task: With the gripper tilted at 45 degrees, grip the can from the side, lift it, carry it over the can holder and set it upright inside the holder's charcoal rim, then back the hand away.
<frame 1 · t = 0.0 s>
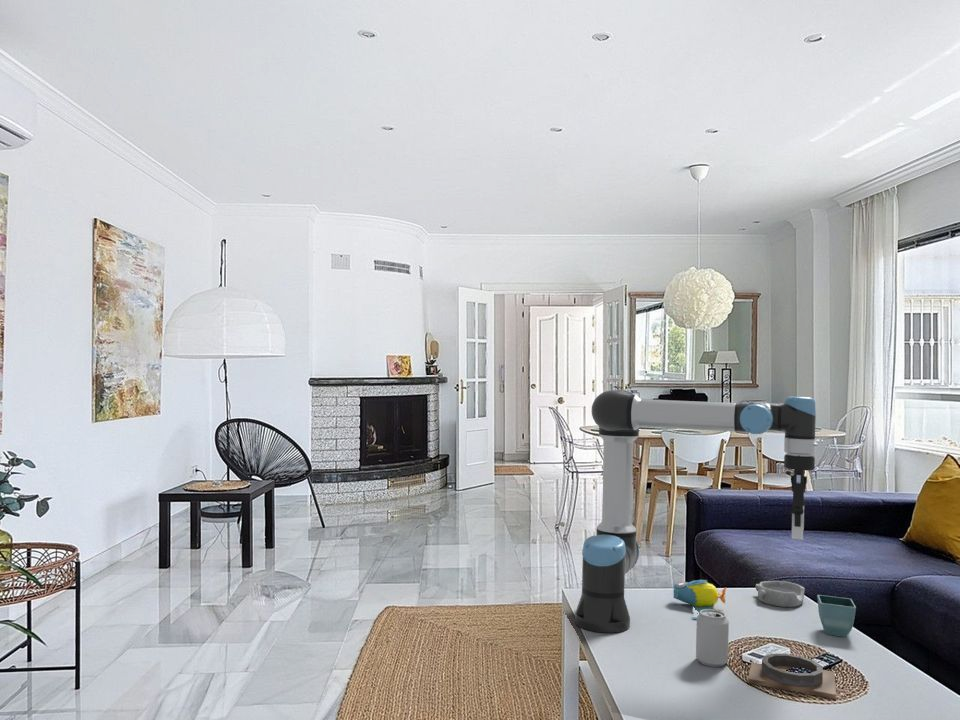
hand: (797, 534, 198), 28 cm above the table, tool pointing down, fingers open, 13 cm apart
blue yellow plastic figure: (699, 609, 224), on the table
can holder: (791, 679, 171), on the table
can: (711, 662, 180), on the table
dish: (779, 602, 232), on the table
flower pot: (835, 634, 203), on the table
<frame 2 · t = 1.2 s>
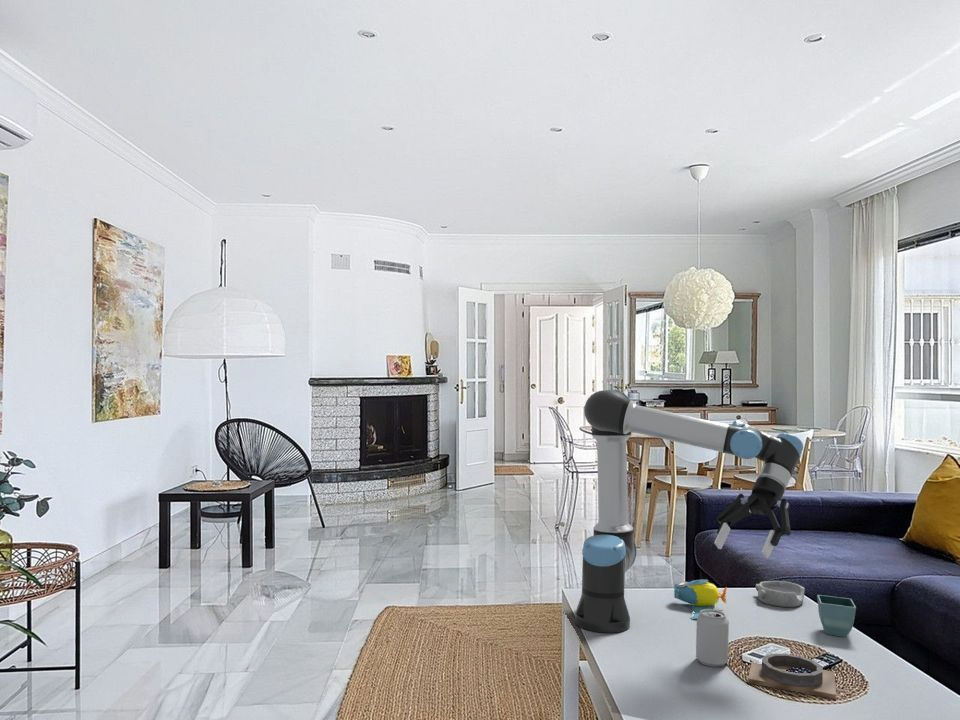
hand: (740, 550, 188), 25 cm above the table, tool tilted 40°, fingers open, 13 cm apart
nothing on the table moved.
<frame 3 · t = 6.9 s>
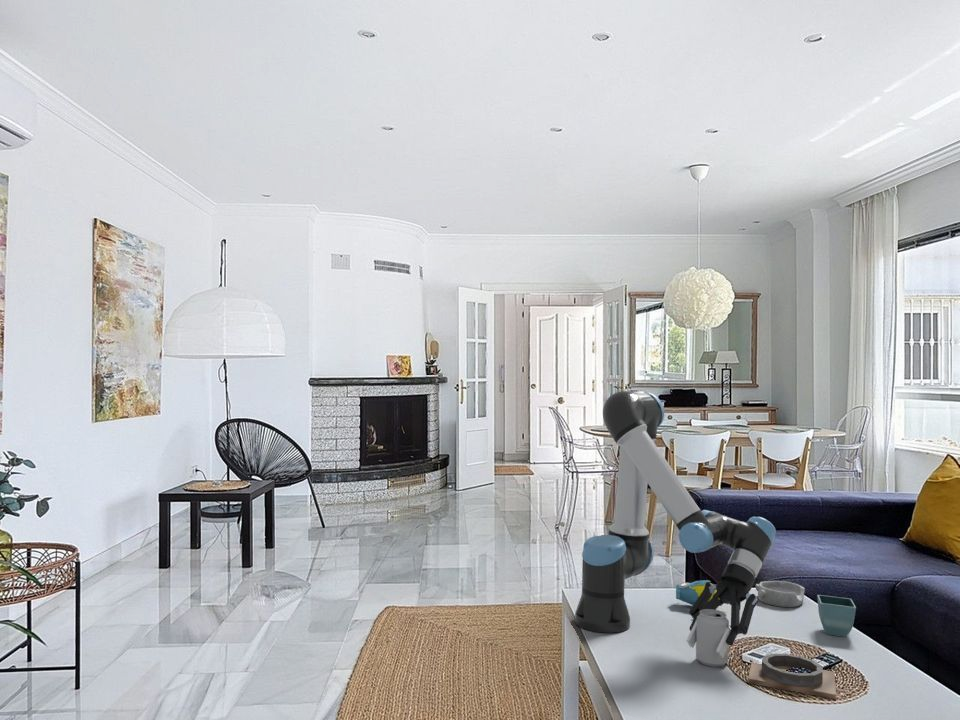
hand: (704, 649, 178), 4 cm above the table, tool tilted 45°, fingers closed on can, 7 cm apart
blue yellow plastic figure: (701, 609, 223), on the table
can: (711, 662, 180), on the table, touching gripper
everything else where it was.
when the fingers open (6 cm above the table, at t = 12.4 s): can drops 1 cm, resting on can holder.
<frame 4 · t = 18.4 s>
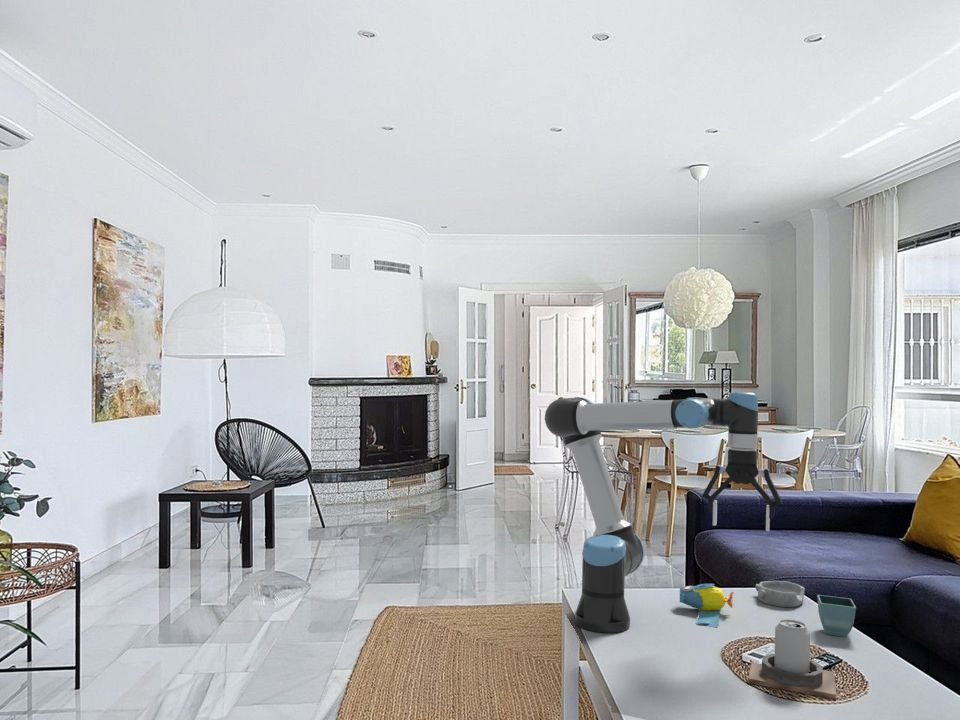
hand: (740, 527, 201), 29 cm above the table, tool pointing down, fingers open, 13 cm apart
blue yellow plastic figure: (705, 613, 220), on the table
can: (791, 675, 171), point 1 cm above the table, touching can holder
everything else where it was.
at the end: can 0.1 cm off-centre on the can holder, point 0.8 cm above the can holder's base; can tilted 0°; the gripper is holding nothing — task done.
